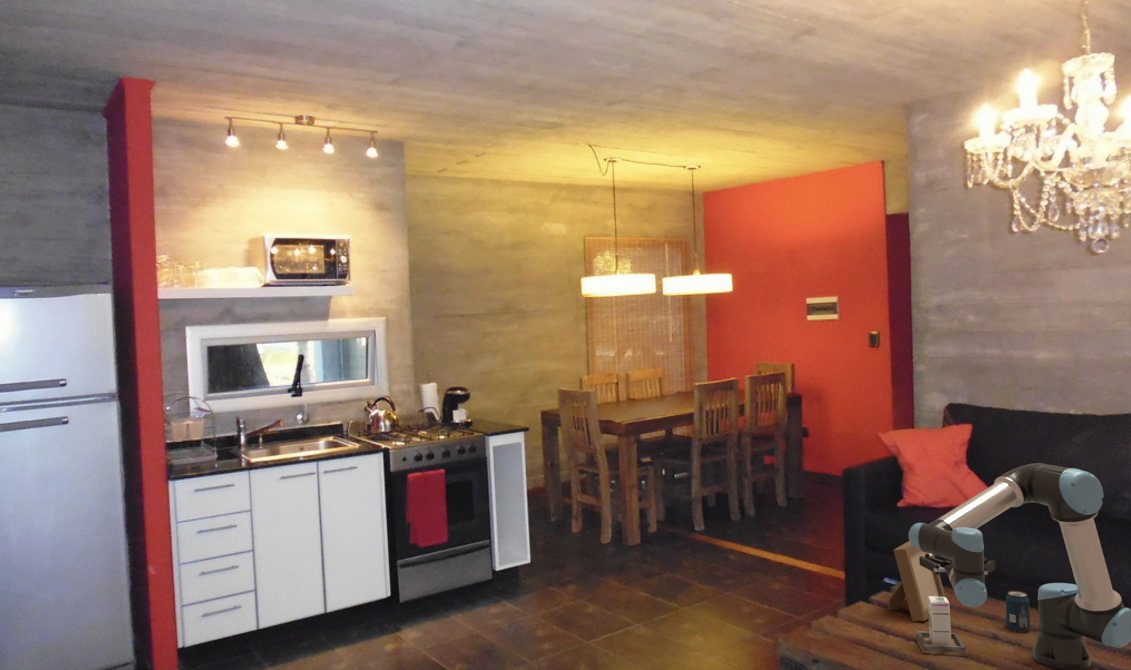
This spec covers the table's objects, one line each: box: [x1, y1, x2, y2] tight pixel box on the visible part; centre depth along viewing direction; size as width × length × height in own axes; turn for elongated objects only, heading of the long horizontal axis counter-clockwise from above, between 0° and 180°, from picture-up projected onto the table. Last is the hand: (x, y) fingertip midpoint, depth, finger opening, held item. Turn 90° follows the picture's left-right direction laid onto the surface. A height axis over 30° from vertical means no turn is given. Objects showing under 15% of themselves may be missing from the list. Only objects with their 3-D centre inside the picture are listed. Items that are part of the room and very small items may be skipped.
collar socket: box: [914, 630, 969, 657], centre depth 267 cm, size 13×13×2 cm
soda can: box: [1005, 590, 1031, 633], centre depth 280 cm, size 7×7×12 cm
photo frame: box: [887, 540, 946, 622], centre depth 300 cm, size 15×22×25 cm
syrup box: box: [928, 596, 952, 646], centre depth 267 cm, size 6×6×14 cm
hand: (953, 555), depth 252 cm, fingers open, 13 cm apart
